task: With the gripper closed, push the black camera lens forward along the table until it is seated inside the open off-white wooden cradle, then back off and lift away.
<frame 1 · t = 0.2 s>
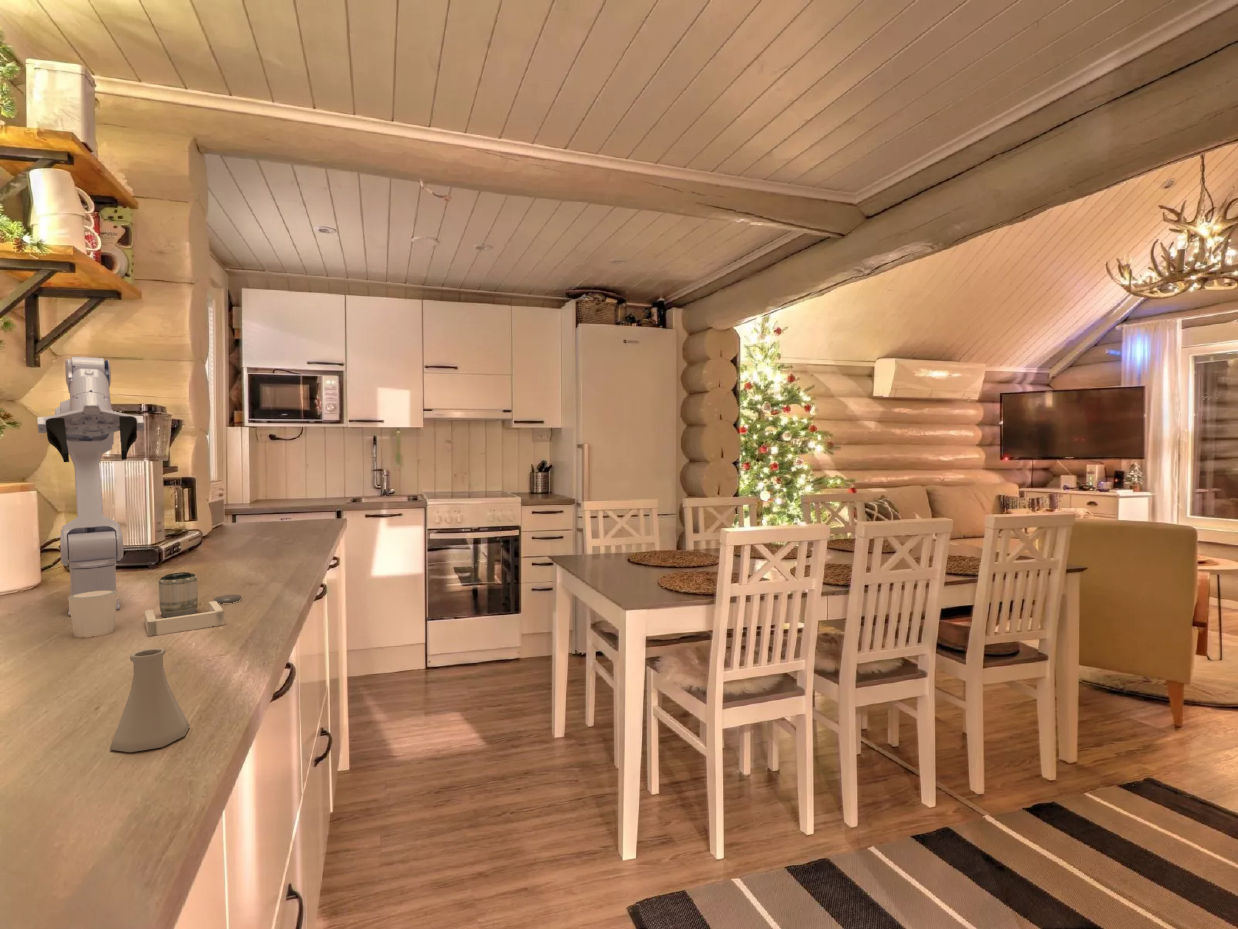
hand: (95, 456, 112), 31 cm above the countertop, tool tilted 45°, fingers open, 7 cm apart
camera lens: (179, 615, 130), on the countertop
flask: (151, 741, 75), on the countertop
cradle: (184, 623, 123), on the countertop
grey round disc: (227, 603, 140), on the countertop
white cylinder: (94, 633, 117), on the countertop
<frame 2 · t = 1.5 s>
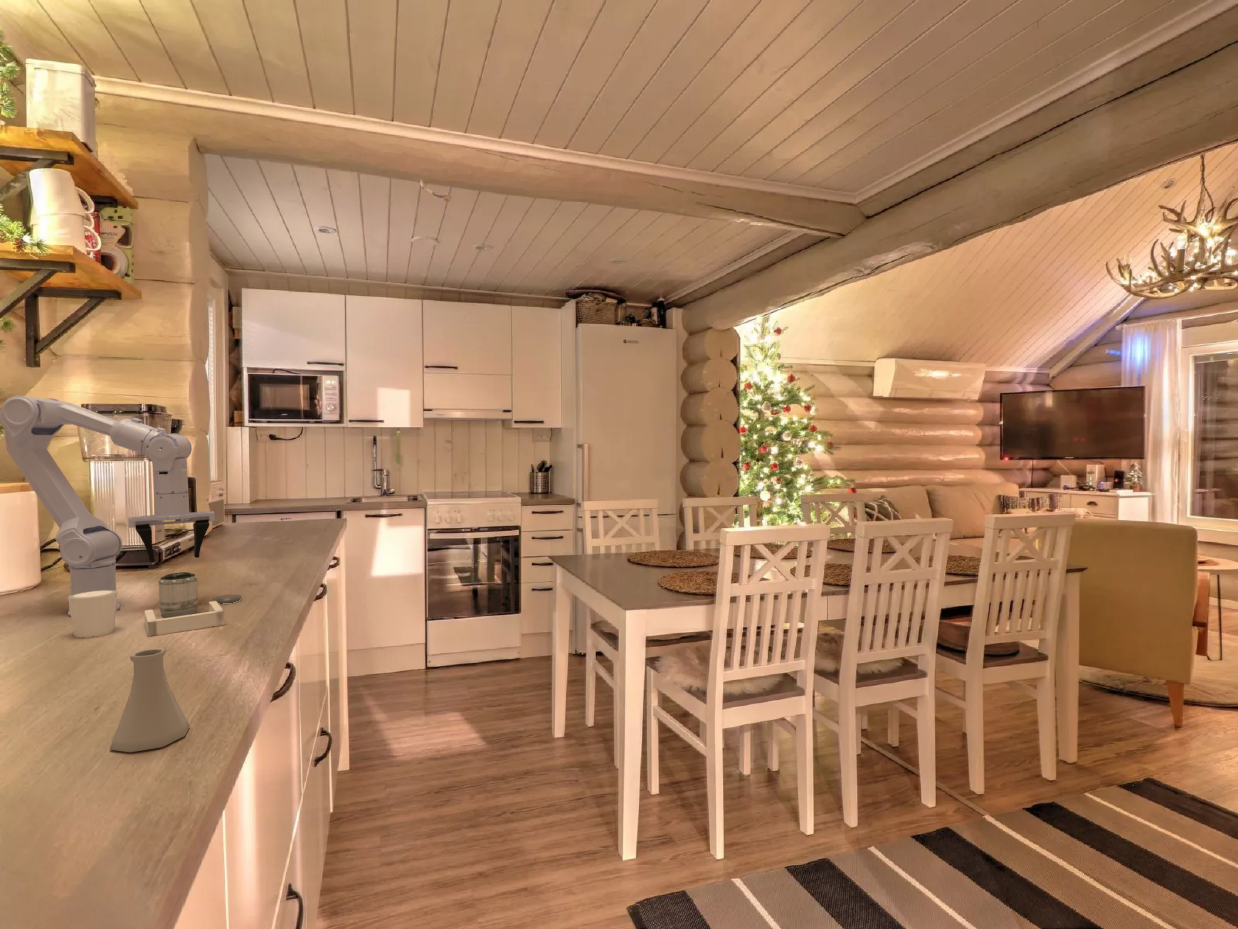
hand: (174, 559, 136), 10 cm above the countertop, tool pointing down, fingers open, 7 cm apart
nothing on the countertop moved.
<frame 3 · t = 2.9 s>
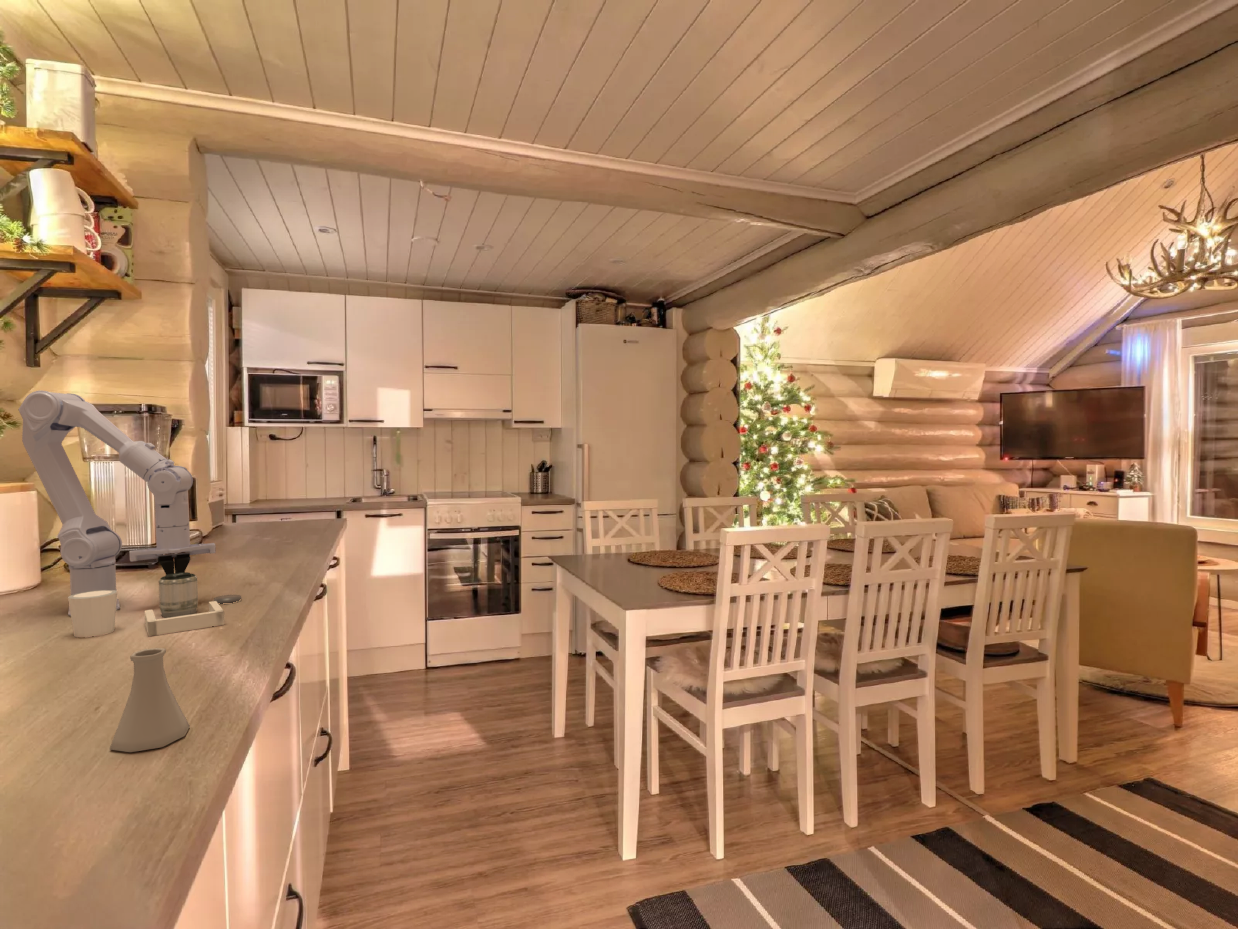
hand: (175, 591, 136), 3 cm above the countertop, tool pointing down, fingers closed
nothing on the countertop moved.
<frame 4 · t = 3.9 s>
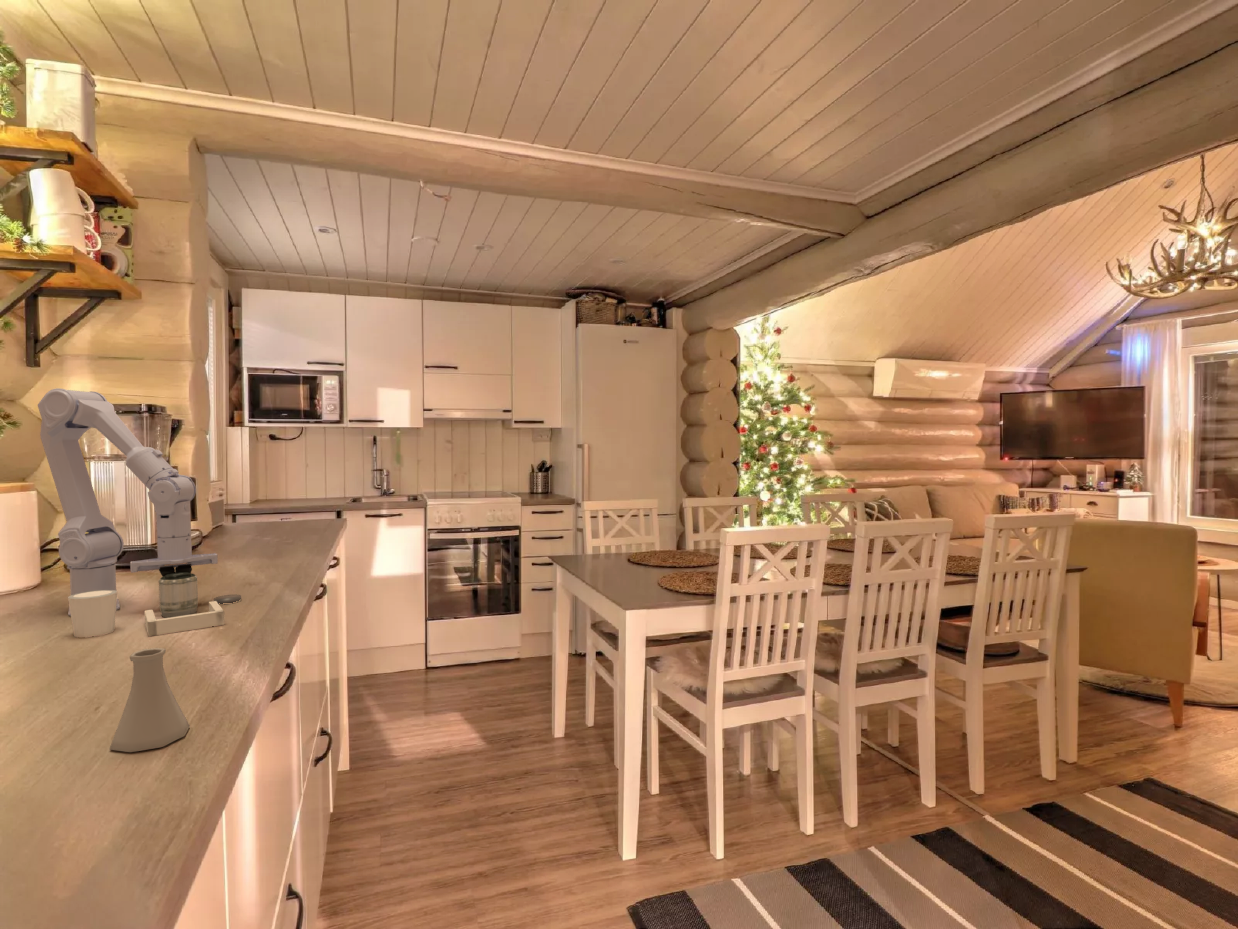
hand: (176, 603, 134), 1 cm above the countertop, tool pointing down, fingers closed, pressing on camera lens
camera lens: (179, 615, 130), on the countertop, touching gripper
everything else where it was.
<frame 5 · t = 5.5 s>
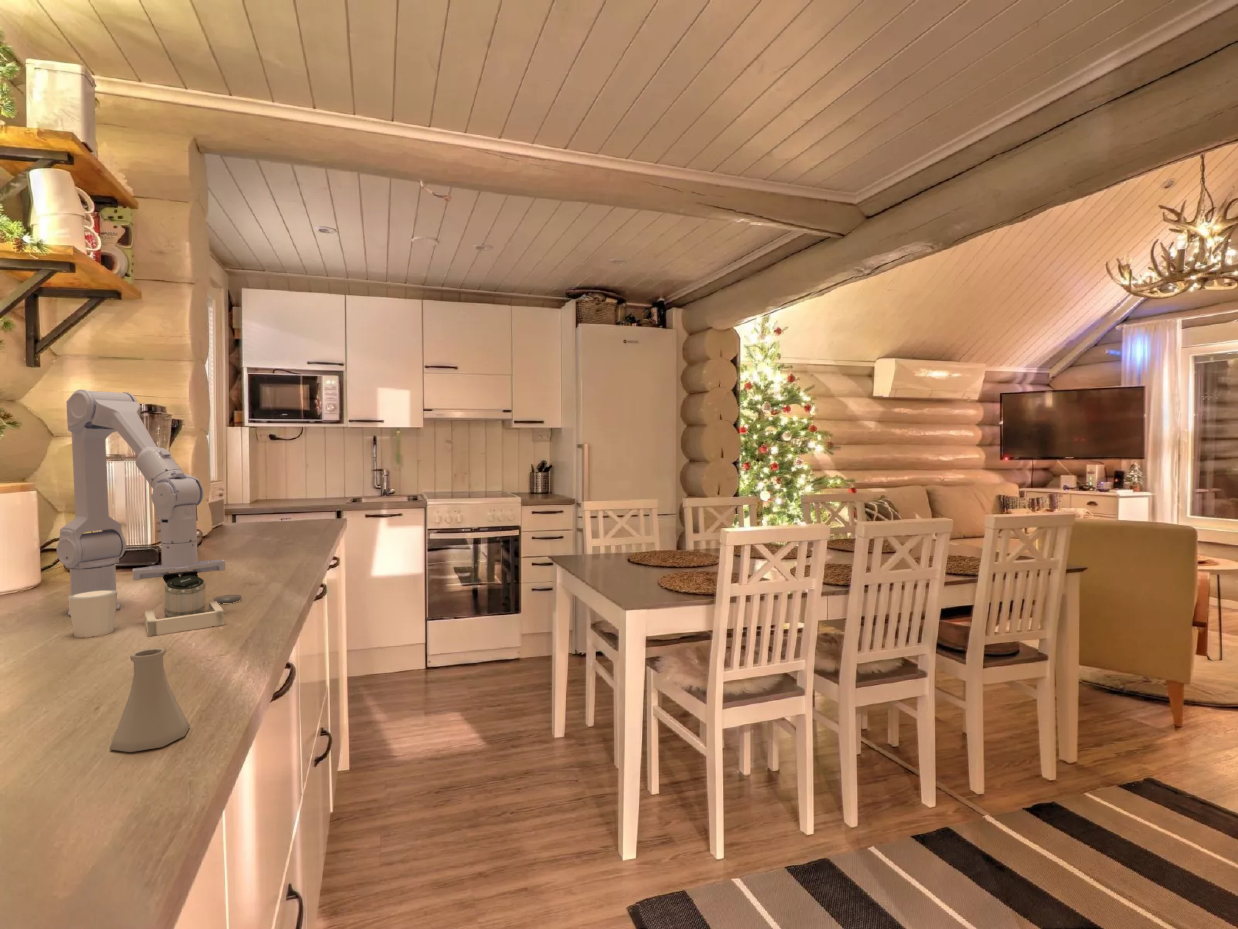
hand: (181, 612, 126), 1 cm above the countertop, tool pointing down, fingers closed, pressing on camera lens
camera lens: (184, 619, 123), point 1 cm above the countertop, touching gripper
everything else where it was.
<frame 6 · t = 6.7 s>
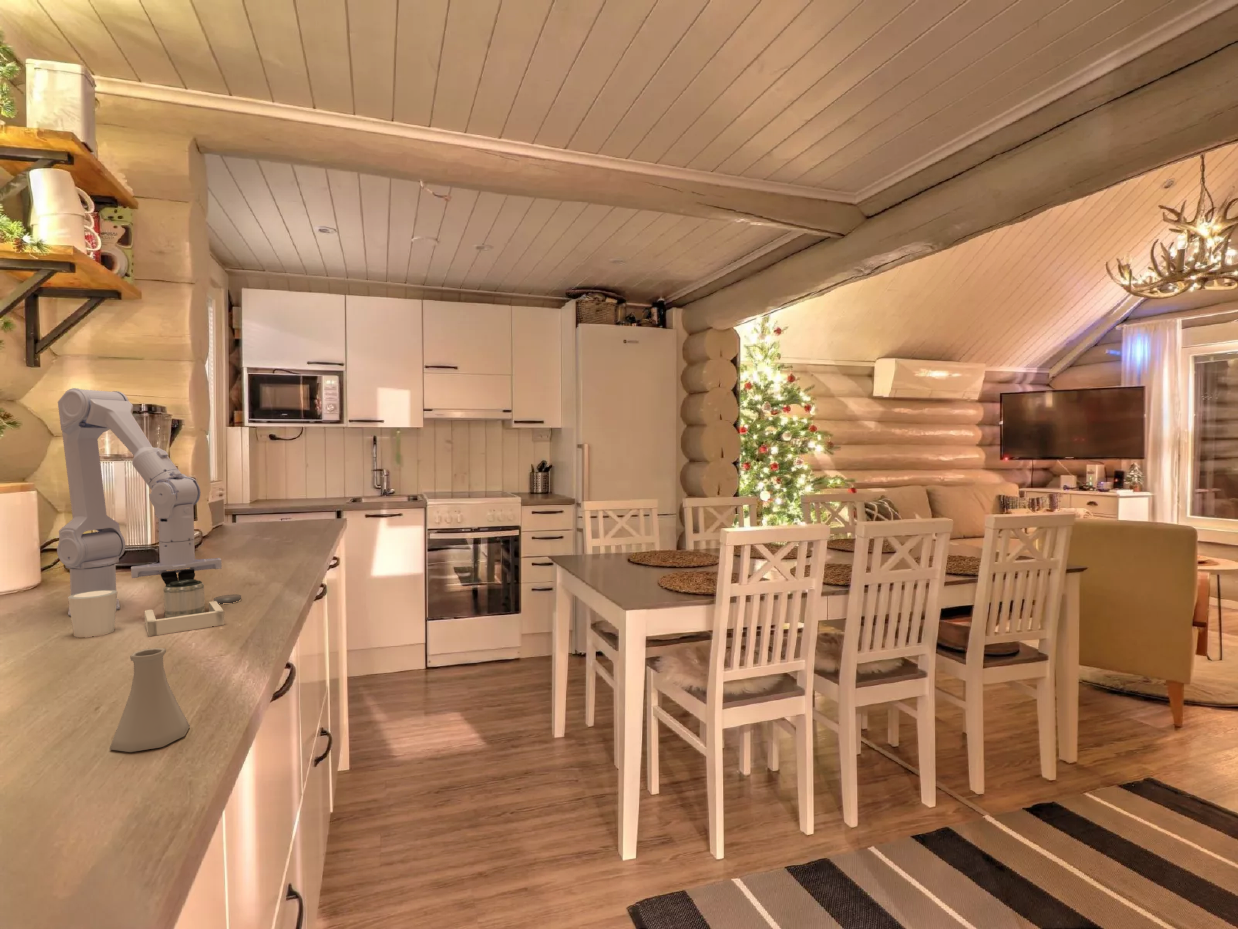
hand: (178, 609, 129), 1 cm above the countertop, tool pointing down, fingers closed
camera lens: (185, 624, 123), on the countertop
everything else where it was.
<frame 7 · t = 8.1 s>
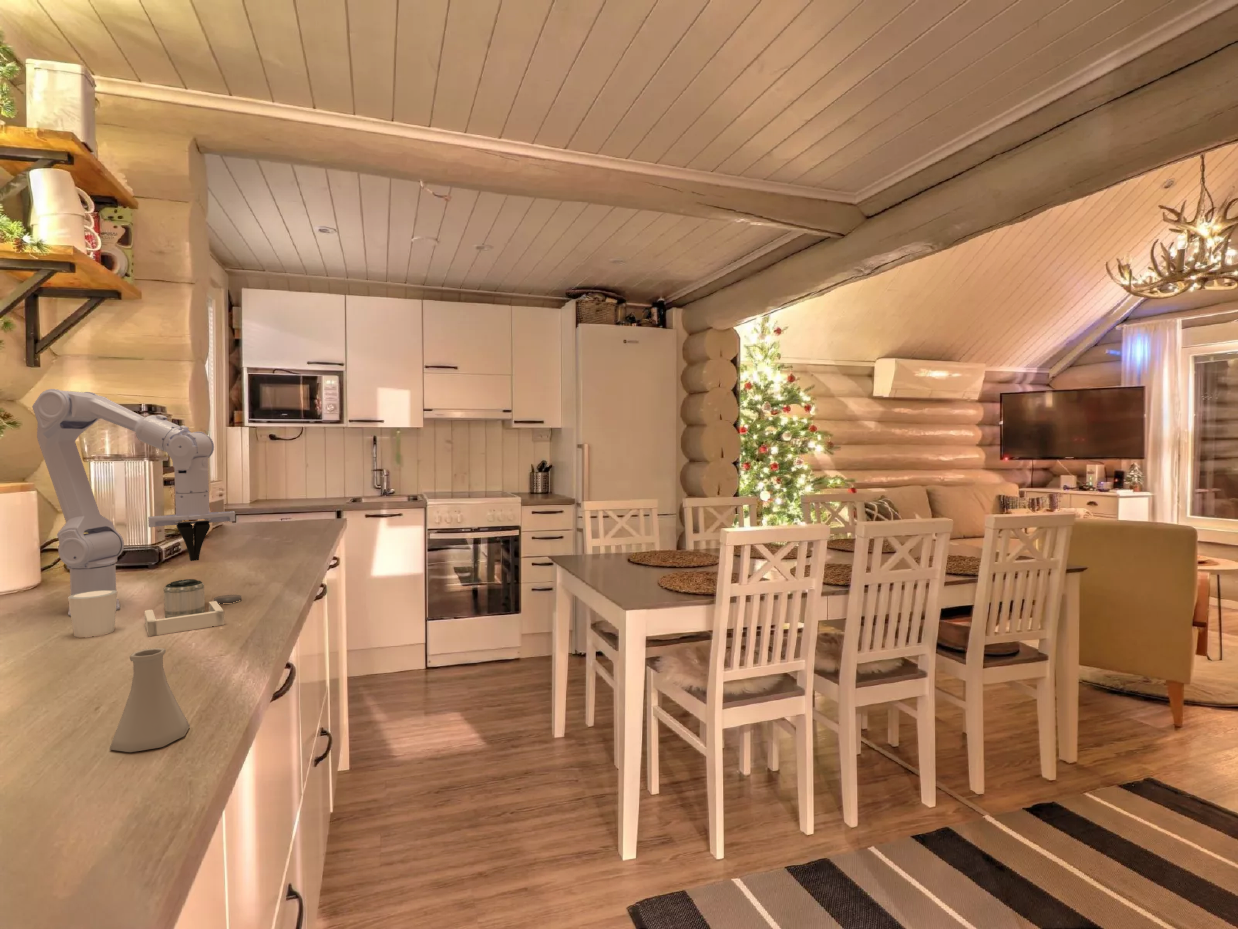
hand: (194, 560, 133), 10 cm above the countertop, tool pointing down, fingers closed
nothing on the countertop moved.
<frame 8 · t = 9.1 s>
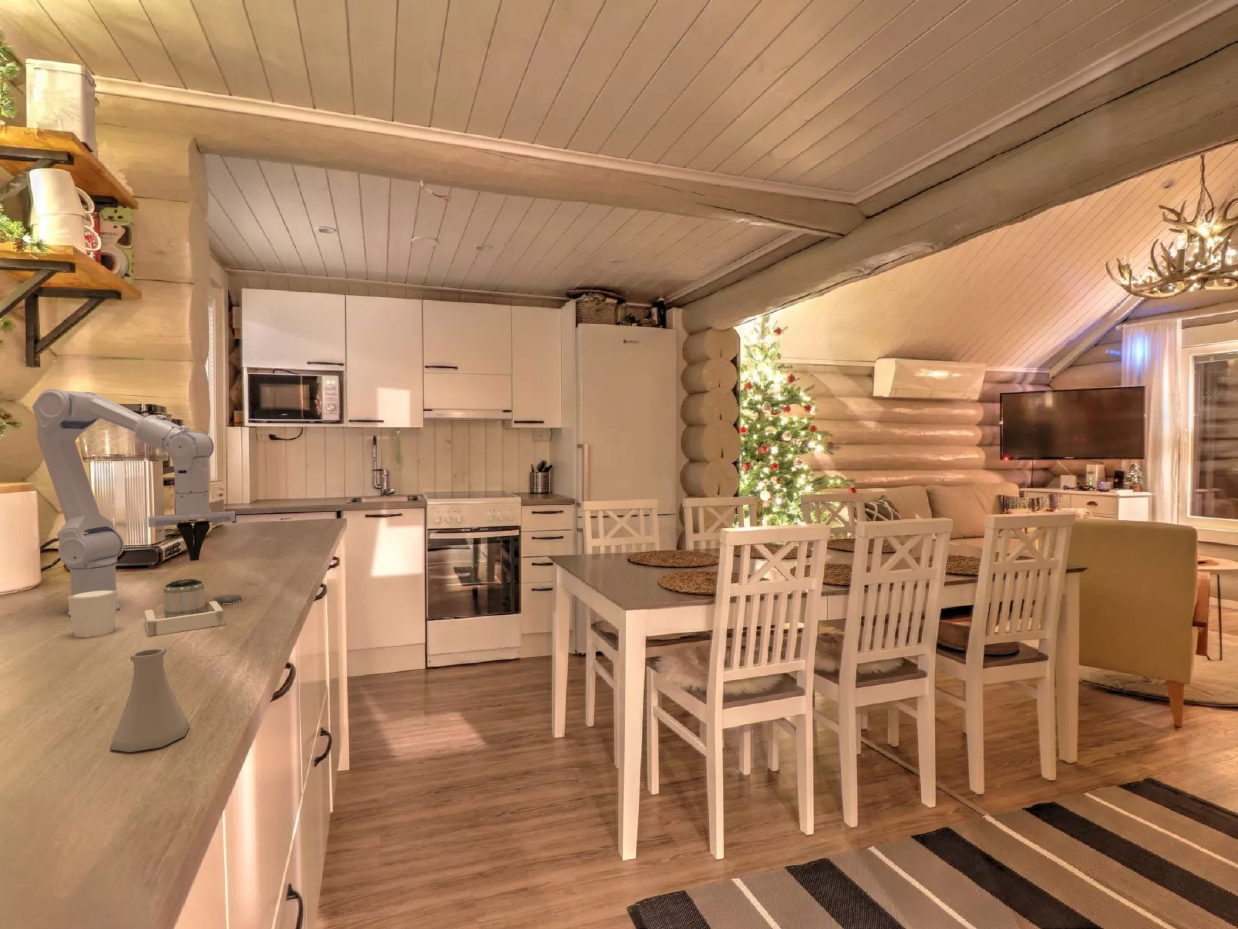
hand: (194, 560, 133), 10 cm above the countertop, tool pointing down, fingers closed
nothing on the countertop moved.
at the end: camera lens 0.4 cm off-centre on the cradle, point 0.0 cm above the cradle's base; camera lens tilted 0° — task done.
